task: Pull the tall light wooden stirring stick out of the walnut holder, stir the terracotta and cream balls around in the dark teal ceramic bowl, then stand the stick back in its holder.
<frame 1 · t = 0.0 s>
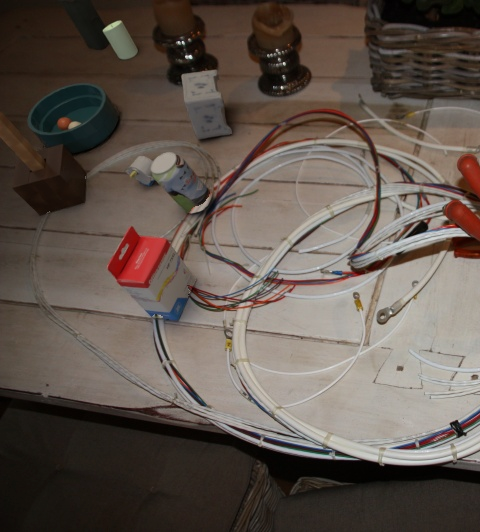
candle: (101, 44, 139), on the table
terracotta ball: (65, 124, 118), point 2 cm above the table, touching bowl
bowl: (83, 129, 120), on the table
stirring stick: (16, 141, 97), in the holder
electric motor: (148, 183, 108), on the table
beverage can: (196, 206, 103), on the table
holder: (63, 193, 109), on the table
ink box: (175, 298, 92), on the table
candle 2: (128, 54, 135), on the table
white printed box: (216, 125, 116), on the table
cream ball: (76, 128, 116), point 2 cm above the table, touching bowl
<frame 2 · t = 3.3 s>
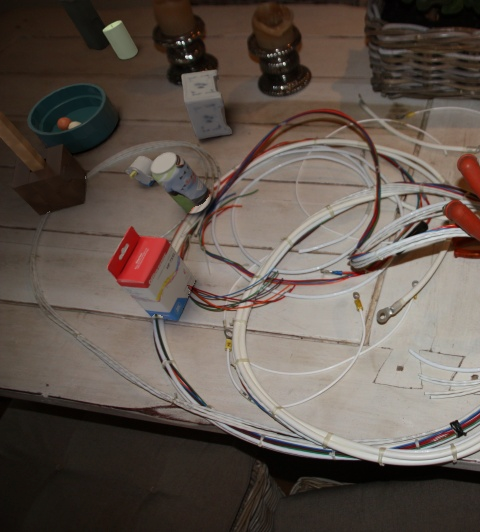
stirring stick: (16, 141, 97), in the holder, touching gripper
everything else where it was.
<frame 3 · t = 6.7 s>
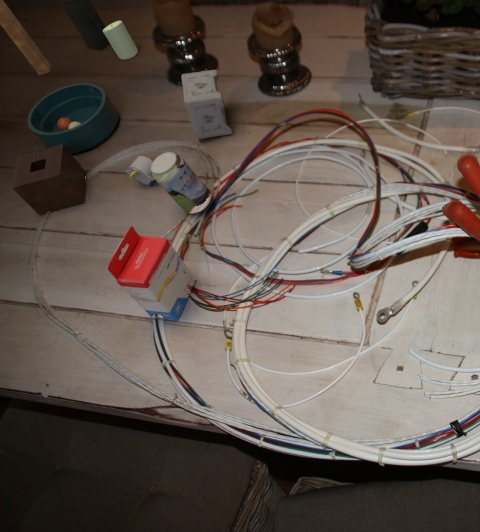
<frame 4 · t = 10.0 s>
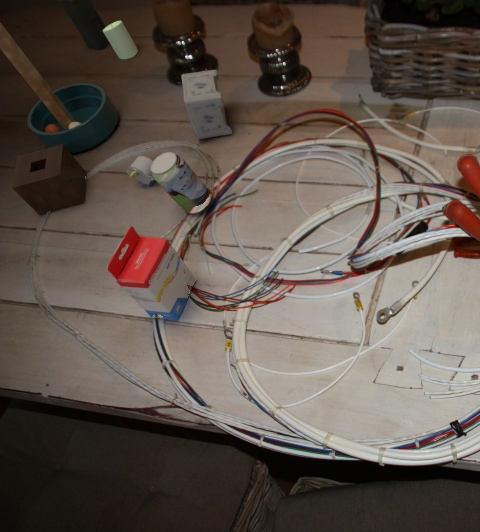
terracotta ball: (53, 131, 117), point 2 cm above the table, tilted 108°, touching bowl
stirring stick: (27, 70, 106), point 16 cm above the table, touching gripper
everything else where it was.
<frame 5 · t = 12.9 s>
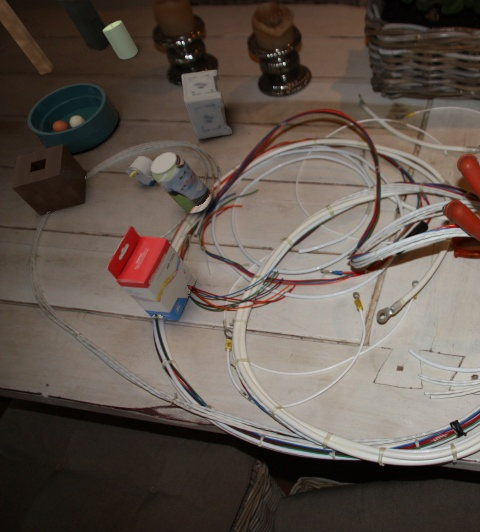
terracotta ball: (60, 127, 117), point 2 cm above the table, tilted 45°, touching bowl
cream ball: (77, 122, 117), point 2 cm above the table, tilted 69°, touching bowl
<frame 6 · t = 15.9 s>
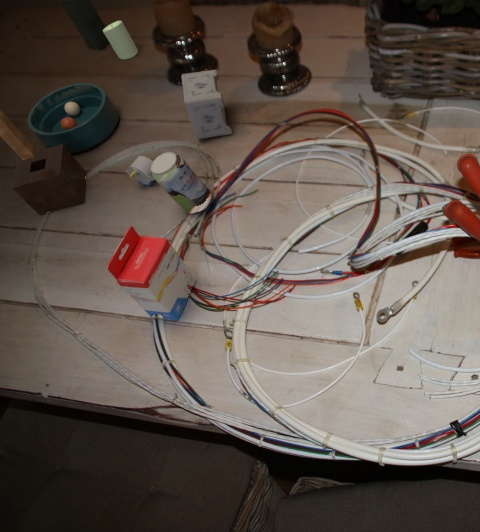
terracotta ball: (68, 124, 117), point 2 cm above the table, tilted 24°, touching bowl
cream ball: (72, 108, 121), point 2 cm above the table, tilted 71°, touching bowl
when the fingers open (24 cm above the table, at t = 18.9 s): stirring stick stays where it is, resting in holder.
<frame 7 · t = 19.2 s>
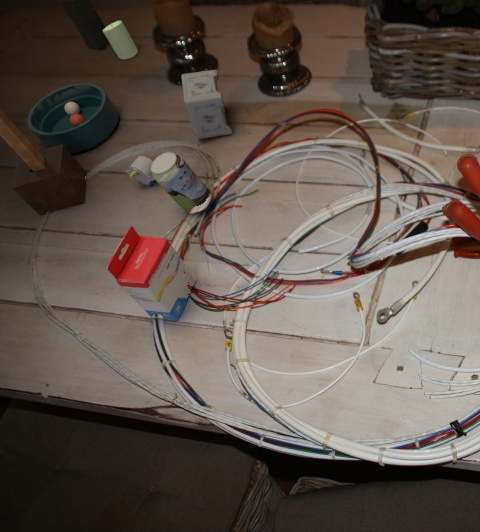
terracotta ball: (77, 120, 118), point 2 cm above the table, tilted 96°, touching bowl
stirring stick: (17, 140, 97), in the holder
everything else where it was.
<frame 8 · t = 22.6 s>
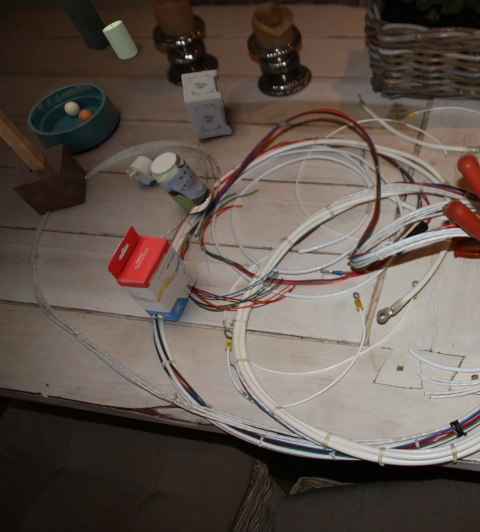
terracotta ball: (86, 116, 118), point 2 cm above the table, tilted 168°, touching bowl
everything else where it was.
at the end: terracotta ball moved 4.6 cm from its start; terracotta ball inside the target area in the bowl (2.2 cm from its centre), point 2.3 cm above the bowl's base; stirring stick 0.2 cm off-centre in the holder, point 14.0 cm above the holder's base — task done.
